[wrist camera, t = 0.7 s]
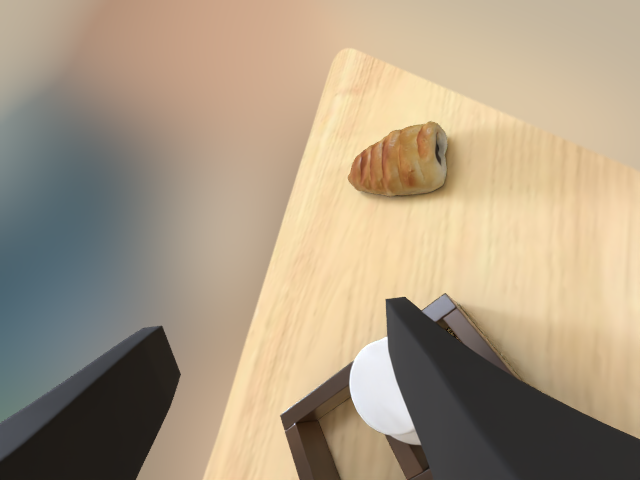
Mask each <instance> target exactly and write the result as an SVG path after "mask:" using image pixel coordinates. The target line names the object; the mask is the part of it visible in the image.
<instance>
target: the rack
mask: <svg viewBox="0 0 640 480" xmlns="http://www.w3.org/2000/svg"><path fill="white" fill-rule="evenodd" d="M422 312H424V313H425V314H426V315H427V316H428V317H430V318H431V319H432V320H433V321H434V322H436V323H437V324H438V325H439V326H441V327H442V328H443V329H445V330H446V329H447V328H449V327H450V329H451V330H452V331H453V332H454V334H455V335H456V336H457V338H458V339H459V340H460V341H461V342H462V343H463V344H464V345H466V346H467V347H469V348H470V349H472V350H473V351H475V352H476V353H478V354H479V355H480V356H482V357H483V358H485V359H486V360H488V361H490V362H491V363H493V364H494V365H496V366H497V367H499V368H501V369H502V370H504V371H506V372H507V373H509V374H511V375H512V376H514V377H516V378H518V379H519V380H521V379H520V377H519V376H518V375H517V374H516V373H515V371H514V370H513V369H512V368H511V367H510V366H509V364H508V363H507V362H506V361H505V360H504V358H503V357H502V356H501V355H500V354H499V353H498V351H497V350H496V349H495V348H494V347H493V345H492V344H491V343H490V342H489V341H488V340H487V338H486V337H485V336H484V335H483V334H482V333H481V331H480V330H479V329H478V328H477V327H476V325H475V324H474V323H473V322H472V321H471V320H470V318H469V317H468V316H467V315H466V314H465V312H464V311H463V310H462V309H461V308H460V307H459V305H458V304H457V303H456V302H455V301H454V300H453V299H452V298H450V297H449V296H448V295H447V294H446V293H445V294H443V295H442V296H440V297H439V298H438V299H436V300H435V301H434V302H432V303H431V304H430V305H428V306H427V307H426V308H424V309H423V310H422ZM386 337H387V336H386ZM353 363H354V361H353V362H351V363H350V364H348V365H347V366H346V367H344V368H343V369H342V370H340V371H339V372H338V373H336V374H335V375H334V376H332V377H331V378H330V379H328V380H327V381H326V382H324V383H323V384H321V385H320V386H319V387H317V388H316V389H315V390H313V391H312V392H311V393H309V394H308V395H307V396H305V397H304V398H303V399H301V400H300V401H298V402H297V403H296V404H294V405H293V406H292V407H290V408H289V409H288V410H286V411H285V412H284V413H282V414H281V415H280V417H281V420H282V423H283V426H284V430H286V431H285V433H286V437H287V440H288V443H289V447H290V450H291V453H292V456H293V460H294V463H295V466H296V469H297V473H298V476H299V479H300V480H340V478H339V475H338V473H337V470H336V467H335V465H334V462H333V459H332V457H331V454H330V451H329V449H328V446H327V443H326V441H325V438H324V435H323V433H322V430H321V428H320V425H319V422H318V419H319V418H321V417H322V416H324V415H325V414H327V413H328V412H329V411H331V410H332V409H334V408H335V407H336V406H338V405H339V404H341V403H342V402H344V401H345V400H346V399H348V398H349V397H351V393H350V373H351V368H352V365H353ZM521 381H522V380H521ZM385 436H386V438H387V440H388V442H389V444H390V446H391V448H392V450H393V452H394V454H395V456H396V458H397V460H398V462H399V464H400V466H401V468H402V470H403V472H404V474H405V476H406V478H407V480H434V479H433V476H432V473H431V470H430V467H429V464H428V461H427V459H426V456H425V453H424V451H423V448H422V446H421V445H414V444H408V443H405V442H402V441H399V440H397V439H395V438H394V437H392V436H391V435H386V434H385Z"/></svg>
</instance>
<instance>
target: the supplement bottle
mask: <svg viewBox="0 0 640 480" xmlns="http://www.w3.org/2000/svg"><path fill="white" fill-rule="evenodd" d="M350 393H351V397H352V400H353V403H354V406H355V408H356V410H357V412H358V413H359V415H360V416H361V418H362V419H363V420H364V421H365V422H366V423H367V424H368V425H369V426H370V427H372V428H373V429H375V430H376V431H378V432H380V433H383V434H386V435H391V436H392V437H394V438H395V439H397V440H399V441H402V442H405V443H408V444H414V445H421V443H420V440H419V438H418V435H417V433H416V430H415V428H414V425H413V423H412V420H411V418H410V415H409V412H408V410H407V407H406V405H405V402H404V400H403V397H402V394H401V392H400V389H399V387H398V384H397V381H396V378H395V374H394V371H393V367H392V363H391V359H390V356H389V352H388V338H387V337H385V338H383V339H382V340H378V341H375V342H372V343H370V344H369V345H367V346H366V347H364V348H363V349H362V350H361V351H360V352H359V354H358V355H357V357H356V358H355V360H354V363H353V365H352V368H351V373H350Z"/></svg>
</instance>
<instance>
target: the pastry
mask: <svg viewBox="0 0 640 480" xmlns="http://www.w3.org/2000/svg"><path fill="white" fill-rule="evenodd" d="M447 145H448V144H447V136H446V133H445V132H444V130H443V129H442V128H441V127H440V125H439V124H438V123H435V122H431V121H430V122H428V123H426V124H421V125H414V126H409V127H406V128H405V129H402V130H395V131H392V132H391V133H390V134H389V135H388V136H386V137H384V138H383V139H382V140H381V141H379V142H377V143H375V144H374V145H371V146H369V147H368V148H367V149H365V150H364V151H363V152H362V153H361V154H360V155H358V156H357V157H356V158H355V160H354V162H353V164H352V168H351V172H350V174H349V176H348V180H349V182H350V183H351V184H352V185H353V186H354V187H355V189H357V190H358V191H364V192H371V193H373V194H383V195H386V196H389V197H392V196H395V195H401V196H402V195H411V194H417V193H419V194H422V193H429V192H431V191H433V190H435V189H438V188H439V187H441V186H442V185H443V184H444V181H445V177H446V172H447V167H446V160H445V152H446V150H447Z"/></svg>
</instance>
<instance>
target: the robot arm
mask: <svg viewBox="0 0 640 480" xmlns="http://www.w3.org/2000/svg"><path fill="white" fill-rule="evenodd" d="M386 317H387V338H388V352H389V356H390V359H391V363H392V367H393V371H394V374H395V378H396V381H397V384H398V387H399V389H400V392H401V394H402V397H403V400H404V402H405V405H406V407H407V410H408V412H409V415H410V418H411V420H412V423H413V425H414V428H415V430H416V433H417V435H418V438H419V440H420V443H421V446H422V448H423V451H424V453H425V456H426V459H427V461H428V464H429V467H430V470H431V473H432V476H433V479H434V480H640V439H638V438H636V437H633V436H631V435H629V434H627V433H624V432H622V431H620V430H618V429H615V428H613V427H611V426H609V425H607V424H604V423H602V422H600V421H598V420H596V419H594V418H592V417H590V416H588V415H585V414H583V413H581V412H579V411H577V410H575V409H573V408H571V407H569V406H568V405H566V404H564V403H562V402H560V401H558V400H556V399H554V398H552V397H550V396H548V395H546V394H544V393H542V392H541V391H539V390H537V389H535V388H533V387H531V386H530V385H528V384H526V383H524V382H523V381H521V380H519V379H518V378H516V377H514V376H512V375H511V374H509V373H507V372H506V371H504V370H502V369H501V368H499V367H497V366H496V365H494V364H493V363H491V362H490V361H488V360H486V359H485V358H483V357H482V356H480V355H479V354H478V353H476V352H475V351H473V350H472V349H470V348H469V347H467V346H466V345H464V344H463V343H462V342H460V341H459V340H458V339H456V338H455V337H454V336H452V335H451V334H450V333H448V332H447V331H446V330H445V329H443V328H442V327H441V326H439V325H438V324H437V323H436V322H434V321H433V320H432V319H431V318H430V317H428V316H427V315H426V314H425V313H424V312H422V311H421V310H420V309H419V308H418V307H417V306H415V305H414V304H413V303H412V302H411V301H409V300H408V299H407V298H406V297H400V298H392V299H386ZM180 375H181V374H180V371H179V369H178V366H177V363H176V361H175V358H174V356H173V353H172V350H171V348H170V345H169V343H168V340H167V337H166V335H165V332H164V330H163V327H162V326H157V327H148V328H143V329H141V330H139V331H137V332H136V333H134V334H133V335H131V336H129V337H128V338H127V339H125V340H123V341H122V342H120V343H119V344H118V345H116V346H115V347H113V348H112V349H110V350H109V351H107V352H106V353H105V354H103V355H102V356H100V357H99V358H97V359H96V360H94V361H93V362H92V363H90V364H89V365H87V366H86V367H84V368H83V369H82V370H80V371H79V372H77V373H76V374H74V375H73V376H71V377H70V378H69V379H67V380H66V381H64V382H63V383H61V384H59V385H58V386H56V387H55V388H54V389H52V390H51V391H49V392H47V393H46V394H44V395H43V396H42V397H40V398H38V399H37V400H35V401H34V402H32V403H31V404H29V405H28V406H26V407H25V408H23V409H22V410H20V411H19V412H17V413H15V414H14V415H12V416H10V417H9V418H7V419H6V420H4V421H2V422H1V423H0V480H136V478H137V476H138V474H139V471H140V469H141V467H142V465H143V463H144V461H145V459H146V457H147V455H148V453H149V451H150V449H151V446H152V444H153V442H154V440H155V438H156V436H157V434H158V432H159V430H160V428H161V425H162V423H163V421H164V419H165V417H166V415H167V413H168V410H169V408H170V406H171V403H172V400H173V397H174V394H175V391H176V388H177V385H178V382H179V378H180Z"/></svg>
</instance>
